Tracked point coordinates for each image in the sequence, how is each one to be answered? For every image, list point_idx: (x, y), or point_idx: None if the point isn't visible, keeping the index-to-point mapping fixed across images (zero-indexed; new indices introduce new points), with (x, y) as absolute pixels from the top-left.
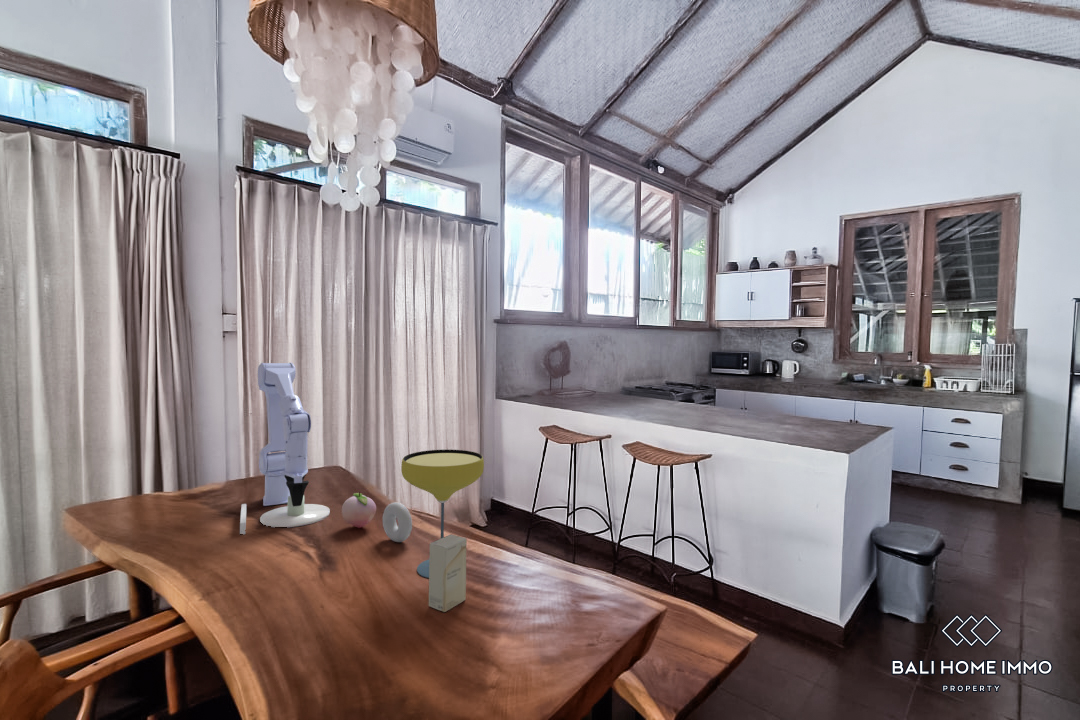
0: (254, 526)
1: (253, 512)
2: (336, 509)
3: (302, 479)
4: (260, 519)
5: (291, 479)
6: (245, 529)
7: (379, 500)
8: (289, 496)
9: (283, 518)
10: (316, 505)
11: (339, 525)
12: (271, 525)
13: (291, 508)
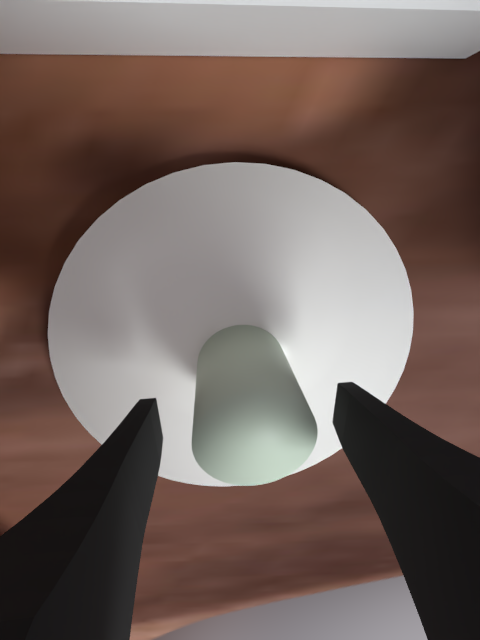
0: (137, 125)
1: (464, 115)
2: (264, 492)
3: (418, 600)
4: (211, 165)
5: (460, 549)
6: (36, 48)
7: (299, 589)
8: (284, 401)
9: (177, 306)
10: (332, 441)
11: (36, 505)
12: (82, 239)
13: (203, 370)
